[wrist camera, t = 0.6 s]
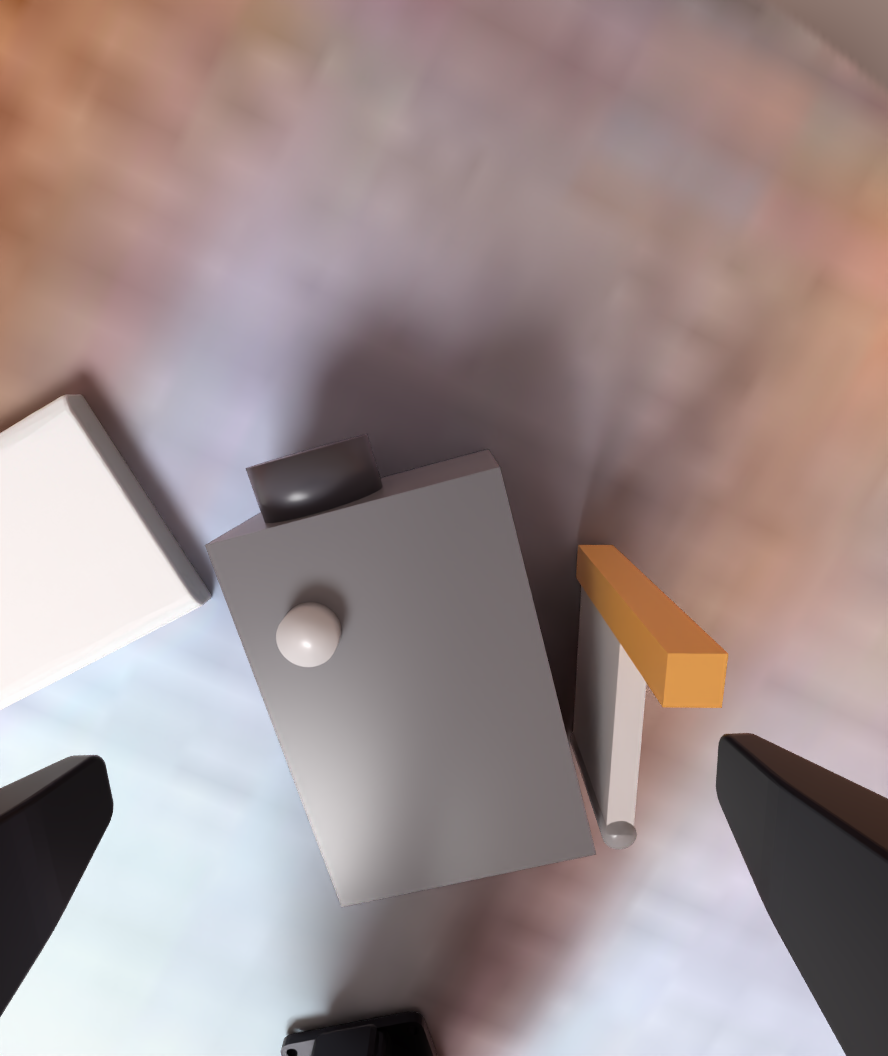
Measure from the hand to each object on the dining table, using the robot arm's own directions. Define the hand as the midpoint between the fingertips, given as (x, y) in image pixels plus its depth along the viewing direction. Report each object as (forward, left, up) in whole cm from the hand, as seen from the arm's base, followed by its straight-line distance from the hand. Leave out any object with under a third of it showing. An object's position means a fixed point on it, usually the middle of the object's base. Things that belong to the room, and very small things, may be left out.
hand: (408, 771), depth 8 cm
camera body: (-3, +1, -12) cm, 13 cm away
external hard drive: (+3, +15, -13) cm, 20 cm away
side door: (-5, -4, -12) cm, 14 cm away
